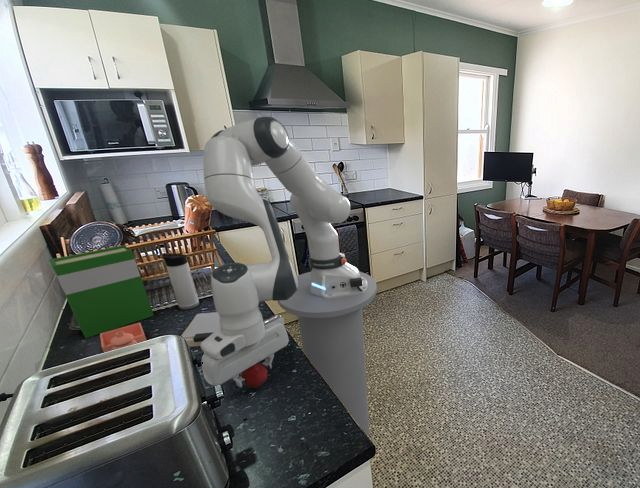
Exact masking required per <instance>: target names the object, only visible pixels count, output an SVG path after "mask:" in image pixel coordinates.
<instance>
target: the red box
mask: <svg viewBox="0 0 640 488" xmlns="http://www.w3.org/2000/svg"><path fill="white" fill-rule="evenodd" d="M99 339H100V345H101V350H102V352H103V353H104V352H107V351H110V350H114V349H118V348H121V347H125V346H128V345H132V344H135V343H138V342H141V341H145V340H147V337H146V333H145V332H144V329H143V326H142V323H141V321H138V322H135V323H131V324H128V325H124V326H121V327H118V328H115V329H112V330H109V331H106V332H103V333H100V334H99Z"/></svg>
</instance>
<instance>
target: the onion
mask: <svg viewBox="0 0 640 488" xmlns="http://www.w3.org/2000/svg"><path fill="white" fill-rule="evenodd" d="M241 377H242V378H244V379H245V382H246V384H245V385H244V386H247V387H248V388H253V389H254V388H258V387H261V386H262V385H264V383H265V382H266V381H267V379H268V371H267V369H266V367H265V366H263V365H262V363H261V362H258V363H256V364H255V365H253V366H251V367H250V368H248V369H246V370H244V371H243V372H241Z"/></svg>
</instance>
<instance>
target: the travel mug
mask: <svg viewBox="0 0 640 488" xmlns="http://www.w3.org/2000/svg"><path fill="white" fill-rule="evenodd" d="M162 259H163V260H164V264H165V266H166V270H167V274H168V277H169V280H170V283H171V286H172V289H173V293H174V296H175V299H176V303H177V306H178V308H179V310H183V311H184V310H191V309H195V308H196V307H198V306H199V305H200V301H199V297H198V292H197V290H196V285H195V283H194V279H193V275H192V272H191V267H190V264H189V260H188V259H187V255H186V254H181V253H169V254H166V255H164V256H162Z"/></svg>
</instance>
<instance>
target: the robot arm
mask: <svg viewBox="0 0 640 488" xmlns="http://www.w3.org/2000/svg"><path fill="white" fill-rule="evenodd" d="M202 161H203V162H202V163H203V165H202V166H203V167H202V170H203V183H204V190H205V194H206V198H207V201H208V203H209V204H210V206H212V208H213V209H214V210H216V211H217V212H219V213H220V214H222V215H225V216H227V217H230V218H232V219H235V220H240V221H243V222H247V223H251V224H253V225H255V226H258V227H259V228H260V229H261V230H262V232H263V234H264V237H265V240H266V243H267V246H268V249H269V254H270V257H271V260H270V261H268V262H262V263H252V264H244V263H241V262H229V263H224V264H222V265H219V266H217V267H216V268H215V269H213V270H212V272H211V274H210V285H211V287H210V288H211V289H210V291H211V296H212V301H213V304H214V310H215V312H217V313H218V314H219V316H220V327H219V328H218V329H217V330H216V331H215V332H214V333H213V334H211V335H210V336H209V337H208V338H206V339H205V340H204V341H203V342H202V343H201V344H200V346H199V347H200V350H201V351H202V352H203V354H202V355H201V369H202V374H203V377H204V380H205V381H206V383H207V384H209V385H210V386H213V387H217V386H216V385H219V386H221V385H223V384H224V383H226V382H228V381H229V380H233V381H234V382H235V385H236V386H237V387H238V388H242V387H244V386H246V385H245V384H246V382H245V379H244V378H242V376H240V374H242V372H243V371H244V370H246V369H248V368H250V367H251V366H253V365H255V364H256V363H261V361H263V360H264V362H262V363H261V364H262V365H263V366H265V367H266V369H267V372H268V371H269V370H271V369H272V368H273V366H272V365H273V364H272V363H273V360H274V357H275V353H277V352H278V351H280V350H282V349H283V348H286V346H288V344H289V342H290V340H289V335H288V331H287V329H286V327H285V319H284V317H283V316H282V315H277V314H274V315H272V316H271V317H269V318H266V319H263V313H262V312H261V310H260V307H259V304H260V303H262V302H263V303H264V302H270V301H276V302H278V300H288V299H289V298H290V297H291V296H292V295H293V294H294V293H295V292H296V291H297V287H298V278H297V276H298V275H297V271H296V270H295V267H294V266H293V263H292V262H291V260H290V256H289V253H288V250H287V247H286V244H285V241H284V238H283V234H282V231H281V227H280V225H279V222H278V220H277V216H276V214H275V211H274V208H273V206H272V204H271V203H270V201H269V200H267V199H265V198H263V197H262V196H261V195H260V193H259V192H258V190H257V187H256V182H255V177H254V171H253V170H254V169H253V167H255V166H259V165H261V164H263V163H265V165H266V166H267V168H269V170H270V171H271V173H272V174H273V175H274V176H275V177H276V179H277V180H278V181H279V182H280V183H281V185H282V186H283V187H284V188H285V190H287V191H288V192H289V193H290V197H289V204H290V207H291V210H293V211H294V212H295V214H296V215H297V217H298V219H299V220H300V223H301V225H302V227H303V230H304V233H305V235H306V239H307V245H308V252H309V255H308V266H309V270H310V272H311V284H310V289H309V290H310V292H311V293H312V294H314V295H317V296H321V297H322V298H324V299H331V298H337V297H343V296H349V295H355V294H361V293H364V292H365V291H366V290H367V281H366V279H365V278H363V277H361V275H360V272H361V271H360V270H359V269H358V268H357V267H356V266H354V265H352V264H350V263H348V262H347V261H348V260H347V258H346V255H345V252H342V253H341V252H340V241H339V235H338V232H337V231H336V230H335V229H334V227H333V226H332V224H341V223H344V222H346V221H347V219H348V218H349V215H350V214H351V203H350V201H349V199H348V198H347V197H346V196H344V195H343V194H341V193H340V192H338V191H337V190H336V189H335V188H334V187H332V186H331V184H329V183H328V182H327V181H326V180H325V179H324V178H323V177H322V176H321V175H320V174H319V173H317V171H316V170H315V169H314V168H313V166H312V165H311V164H310V162H309V160H307V158H306V157H305V155H304V154H303V152H302V151H301V150H300V148H299V147H298V146H297V144H296V143H295V142H294V141H293V140H292V139H291V137H290V136H289V133H288V131H287V128H286V127H285V126H284V125H283V124H282V122H281V121H279V120H278V119H276V118H275V117H272V116H259V117H257V118H254V119H249V120H243V121H241V122H238V123H236V124H234V125H231V126H229V127H227V128H225V129H221V130H219V131H217V132H215V133H214V134H213V135H212V136H211V137H210V138H209V139H208V140H207V141H206V142H205V145H204V149H203V160H202ZM202 362H203V364H202Z"/></svg>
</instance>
